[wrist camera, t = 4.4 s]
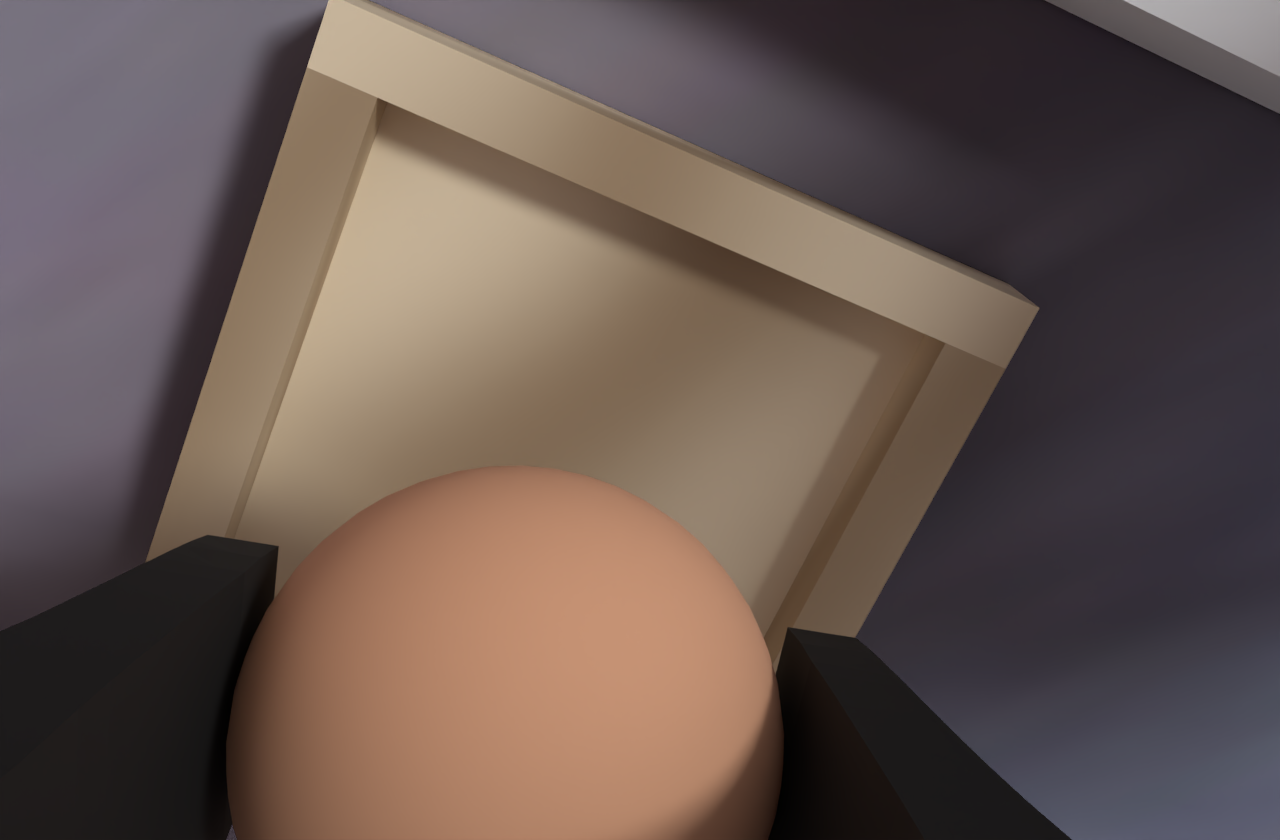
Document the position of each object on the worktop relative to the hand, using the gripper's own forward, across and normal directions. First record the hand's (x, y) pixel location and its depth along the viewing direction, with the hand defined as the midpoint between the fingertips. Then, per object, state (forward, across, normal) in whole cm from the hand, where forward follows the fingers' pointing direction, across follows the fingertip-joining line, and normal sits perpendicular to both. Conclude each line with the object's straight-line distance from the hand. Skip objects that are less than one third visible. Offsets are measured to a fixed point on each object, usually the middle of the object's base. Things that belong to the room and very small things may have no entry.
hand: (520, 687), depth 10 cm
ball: (+1, 0, 0) cm, 1 cm away
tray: (+6, 0, 0) cm, 6 cm away
